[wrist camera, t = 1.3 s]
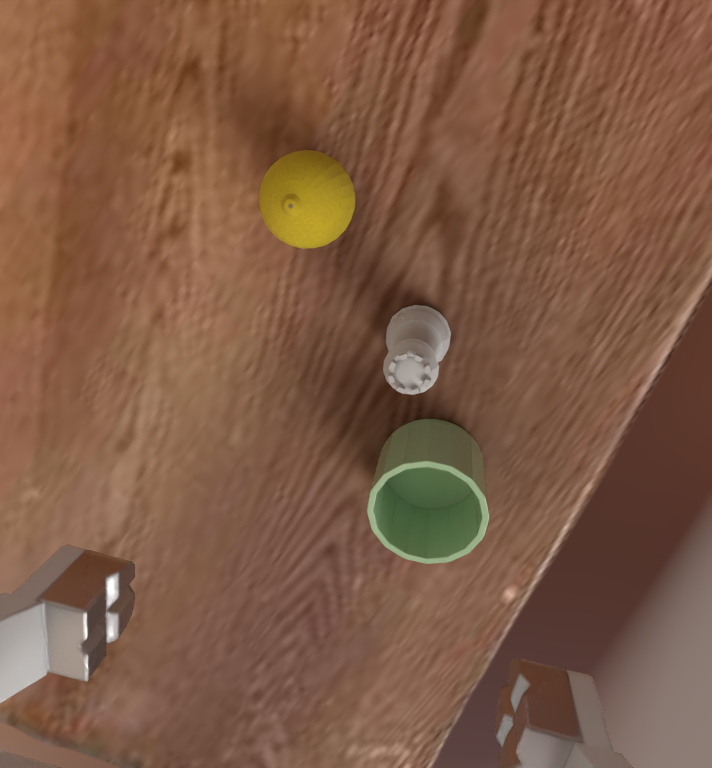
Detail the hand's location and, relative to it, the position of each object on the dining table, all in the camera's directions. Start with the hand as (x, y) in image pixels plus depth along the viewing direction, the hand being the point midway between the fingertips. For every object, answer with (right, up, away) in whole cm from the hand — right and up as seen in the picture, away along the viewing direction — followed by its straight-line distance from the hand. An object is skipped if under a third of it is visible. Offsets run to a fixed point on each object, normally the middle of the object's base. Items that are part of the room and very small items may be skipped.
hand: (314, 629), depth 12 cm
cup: (+7, -1, +32) cm, 32 cm away
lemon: (-1, +18, +26) cm, 31 cm away
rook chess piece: (+5, +9, +28) cm, 30 cm away
